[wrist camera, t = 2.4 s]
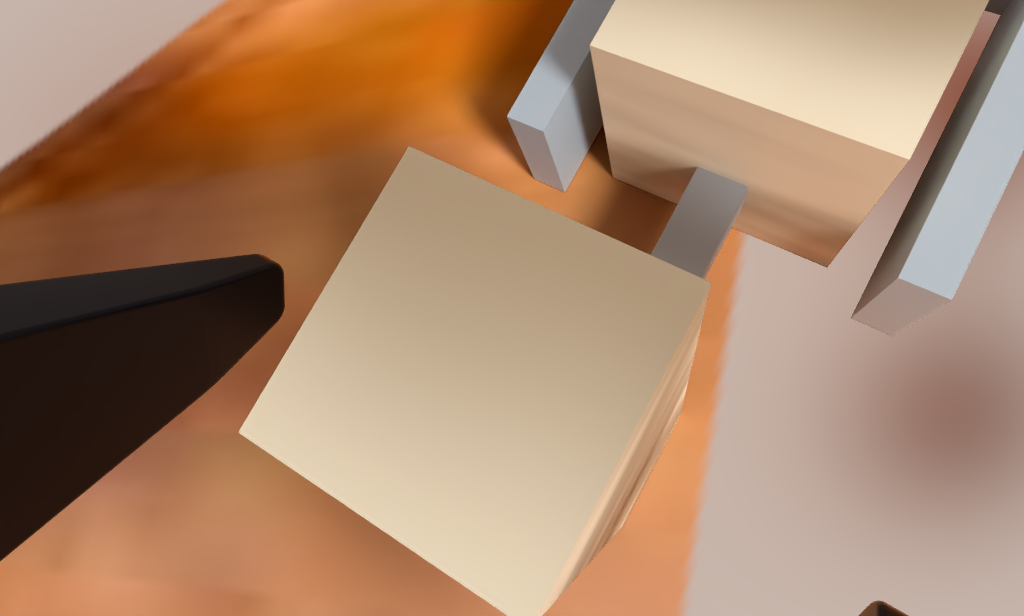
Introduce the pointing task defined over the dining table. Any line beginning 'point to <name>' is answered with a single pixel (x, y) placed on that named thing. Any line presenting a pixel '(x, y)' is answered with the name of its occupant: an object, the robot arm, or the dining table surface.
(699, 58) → the tethered block
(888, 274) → the stall
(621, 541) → the dining table surface
